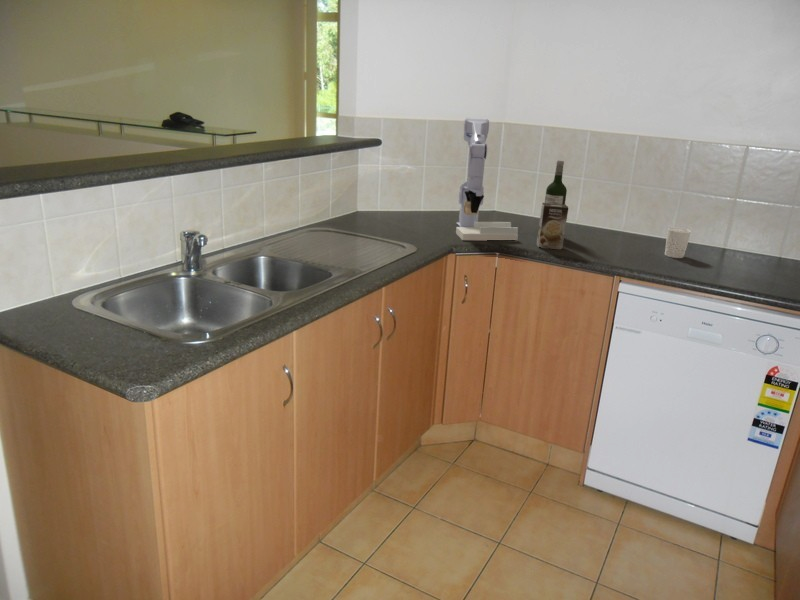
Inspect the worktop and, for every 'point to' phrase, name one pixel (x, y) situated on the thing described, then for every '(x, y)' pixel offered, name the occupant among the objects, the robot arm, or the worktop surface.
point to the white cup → (676, 242)
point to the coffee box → (552, 226)
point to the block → (468, 208)
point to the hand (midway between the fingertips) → (472, 211)
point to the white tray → (488, 231)
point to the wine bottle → (556, 187)
